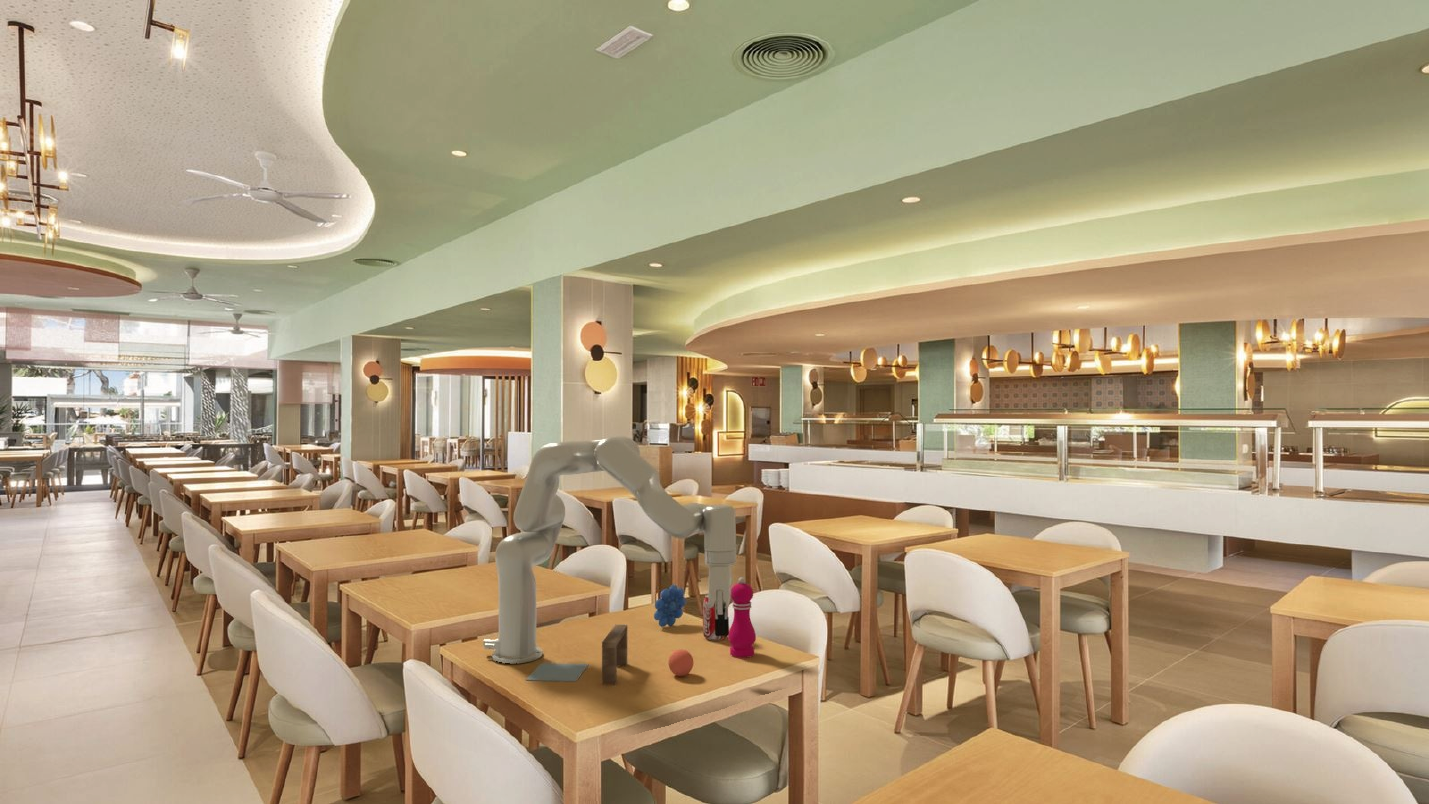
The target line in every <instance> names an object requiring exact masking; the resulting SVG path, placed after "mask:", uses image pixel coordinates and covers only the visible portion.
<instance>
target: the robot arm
mask: <svg viewBox="0 0 1429 804" xmlns="http://www.w3.org/2000/svg"><path fill="white" fill-rule="evenodd" d="M640 451H641V450H640V448H639V445H638V443H637V442H636V441H635V440H633V439H632V438H630V437H627V436H610V437H606V438H604V439H603V438H602V439H594V440H593V439H592V440H579V441H578V440H577V441H575V440H574V441H572V440H571V441H558V442H557V441H556V442H551V443H547V444H544V445H543V446H541V447H540V448H538V450H537V451H536V452H535V454H534V455H533V457H532V460H531V463H530V465H529V469H528V472H527V475H526V479H525V481H524V483H523V486H522V489H521V491H520V494H519V497H518V500H517V503H516V506H515V509H514V512H513V516H512V517H513V519H512V520H513V523H514V526H515V527H516V529H518V530H519V531H521V532H517V533H513V534H510V535H508V536H506V537H504V538H503V539H502V540H501V541H500V542H499V543H498V545H497V546H496V549H495V553H494V558H495V559H494V560H495V565H496V566H495V567H496V571H497V580H498V581H497V582H498V638H496V639H484V640H483V642H482V643H483V645H482V646H483V648H484V650H493V653H492V654H491V659H492V660H493V661H494V662H496V661H498V662H497V663H499V662H502V663H501V664H505V663H510V664H511V665H515V664H516V663H517V664H523V663H525V664H526V663H529V662H534V661H535V660H538V659H541V657H542V655H543V649H542V648H541V647H539V646H537V581H536V577H535V575H534V571H533V568H534V567H536V566H538V565H542V564H543V563H545V562H546V561H548V560H549V558H550V557H551V555H552V553H553V551H554V550H555V546H556V543H557V540H558V538H559V535H560V532H561V529H562V526H563V524H564V521H565V516H566V506H565V503H564V501H563V499H562V498H561V497H560V496H559V495H558V494H557V493H558V489H559V486H560V476H563V475H565V476H566V475H567V476H569V475H580V474H587V473H597V472H606V474H608V475H609V476H610V477H611V478H612V479H614V480H615V481H616V482H617V483H619V484H620V485H621V486H622V487H623V488H625V490H627V491H628V492H629V493H630V494H631V495H632V496H633V497H634V498H635V499H636V502H637V503H638V504H639V507H640V508H641V509H642V511H643V512H644V513H645V514H646V516H647V517H648V518H649V519H650V520H651V521H652V522H653V523H654V524H656V525H657V526H658V527H659V528H660V529H662V531H664V532H665V533H666V534H668V535H670V536H671V537H674V538H675V539H680V540H681V539H687V538H690V537H692V536H695V535H697V534H698V535H699V534H701V533H703V535H704V536H703V538H704V541H703V543H704V544H703V547H704V564H705V565H706V566H708V594H709V603H708V607H709V608H712V607H713V606H714V603H715V635H716V636H727V637H728V635H729V630H730V622H729V621H730V620H729V607H730V604H731V599H732V598H731V589H732V587H733V585H732V575H733V574H732V566H733V565H736V564H737V536H736V535H737V531H736V510H735V508H734V507H733V506H732V505H730V504H713V505H711V504H710V505H709V504H703V503H699V502H698V503H697V502H691V503H690V502H689V503H686V504H683V505H682V504H681V503H679V502H678V501H677V500H676V499H674V498H673V496H672V495H671V494H669V493H668V492H667V491H666V489H664V488H663V486H662V483H661V482H660V474H659V471H658V469H657V468H655V466H653V465H652V464H651V463H650V462H648V461H647V460H646V459H644V458H643V457H642V456H641V452H640ZM510 664H509V665H510Z"/></svg>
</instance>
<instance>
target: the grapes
mask: <svg viewBox="0 0 1429 804" xmlns="http://www.w3.org/2000/svg"><path fill="white" fill-rule="evenodd" d="M684 596H685V590H684V589H683V588H682V587H678V585H676V584H672V585H670V587H669V588H664V589H662V591H661V592H660V598H658V599H657V600H656V601H655V603H654V608H655V609H656V611H655V612H654V614H653V617H654V620H655V621H658V625H659V627H661V628H663V627H664V628H665V627H666V626H668V627H672V626H674V625H675V623H676V621H677V619H680V618H682V616H683V614H684V610H683V608H684V607H685V606H686V603H687V599H686V597H684Z"/></svg>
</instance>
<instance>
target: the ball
mask: <svg viewBox="0 0 1429 804" xmlns="http://www.w3.org/2000/svg"><path fill="white" fill-rule="evenodd" d="M668 667H669V670H670V672H671V673H672V674H674V675H675V676H678V677H684V676H686V675H689V673H690V672H691V671H692V669H693V667H694V658H693V656H692V654H691V652H689V651H688V650H686V649H677V650H675V651H673V652H672V653H671V654H670V656H669V658H668Z"/></svg>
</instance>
